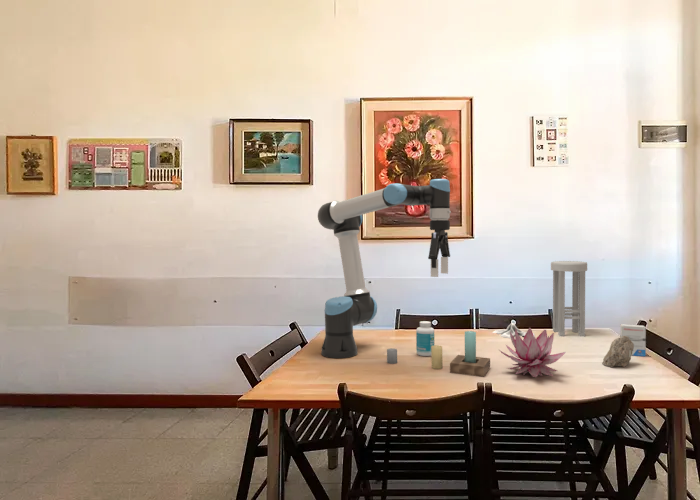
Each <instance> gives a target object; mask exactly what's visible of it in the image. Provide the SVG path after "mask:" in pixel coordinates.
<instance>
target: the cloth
mask: <svg viewBox="0 0 700 500" xmlns="http://www.w3.org/2000/svg"><path fill="white" fill-rule="evenodd" d="M515 328H516V329H517V332H518V335H519V336H520V337H521V336H522V337H523V338H524V336H525V334H526V333H527V331H523V330H520V329H519V328H518V327H517V325H516V323H513V322H511V323H510V324H508V326H507V327H506V329H505V328H503V329H496V330H494V331H492V334H493V333H497V334H496V335H499V337H500V336H501V337H500V338H507V339H511V337H510V331H511V333H512V335H513V337H514V339H515ZM532 333H533V332H532ZM533 336H534V337H535V338H536V334H535V333H533ZM522 337H521V338H522Z"/></svg>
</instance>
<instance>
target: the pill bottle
mask: <svg viewBox="0 0 700 500" xmlns="http://www.w3.org/2000/svg"><path fill="white" fill-rule="evenodd" d="M415 335H416V336H415V337H416V338H415V340H416V341H415V343H416V348H415V349H416V350H415V351H416V354H417V355H418V356H419V357H431V346H433V345H435V329H434V328H433V327H432V321H426V320H423V321H419V327H417V328H416V334H415Z"/></svg>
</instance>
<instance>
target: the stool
mask: <svg viewBox="0 0 700 500" xmlns="http://www.w3.org/2000/svg"><path fill="white" fill-rule="evenodd" d="M550 270H551V271H552V332H553V333H558V336H559V337H565V334H566V328H565V326H566V325H565V321H566V320H571V322H572V323H571V328H572V330H571V332H573V333H578V336H579V337H586V272H587V271H588V262H586V261H578V260H557V261H556V260H555V261H551V262H550ZM566 272H570V273H571V272H572V276H571V277H572V279H571V280H572V283H571V284H572V287H571V288H572V298H571V299H572V303H571V304H572V305H571V306H566V304H565V303H566V294H565V293H566V292H565V291H566V286H565V285H566V284H565V283H566Z"/></svg>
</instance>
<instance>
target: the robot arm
mask: <svg viewBox="0 0 700 500" xmlns="http://www.w3.org/2000/svg"><path fill="white" fill-rule="evenodd" d="M450 187H451V186H450V181H449V179H448V178H435V179H431V180H430V181H429V184H427V185H411V184H403V183H390V184H387V186H386V187H384V188H380V189H378V190H375V191H371V192H368V193H365V194H361V195H358V196H355V197H351V198H349V199H345V200H342V201H338V200H334V201H329V202H327V203H324V204H322V205H321V206H320V207H319V209H318V212H317V220H318V223H319V224H320V225H321V226H322V227H323V228H324V229H327V230H333V234H334V236H335V237H336V238H337V239H338V243H339V244H338V246H339V251H340V257H341V264H342V269H343V276H344V282H345V283H344V284H345V290H346V291H345V293H344V295H343V296H335V297H332V298H329V299H327V300H326V301H325V305H324V329H325V333H324V334H325V335H324V336H325V337H324V340H323V342H322V346H321V355H322V356H323V357H324V358H331V359H344V358H352V357H354V356H356V355H358V347H357V343H356V341H355V337H354V326H357V325H361V324H366V323H368V322H371V321H372V320H374V318H375V317H376V315H377V312H378V304H377V301H376V299H374V297H373V296H371V292H370V290H368V289H367V288H366V283H365V276H364V271H363V264H362V258H361V252H360V245H359V239H358V234H359V233H360V227H361V225H362V223H363V217H364V216H363V215H366V214H370V213H373V212H376V211H380V210H381V211H382V210H385V209H387V208H391V207H395V206H399V205H404V206H428V205H429V219H430V221H429V230H430V231H434V232H431V238H430V245H429V251H428V256H427V258H428V260H430V278H433V277H434V278H439V253H440V254H441V256H440V274H445V275H446V274H447V275H448V274H449V258H451V253H450V252H451V251H450V245H449V237H448V236H449V235H448V233H449V232H447V231H449V230H450V228H451V225H450V224H451V223H450V222H451V221H450V220H449V219H450V216H451V215H450V214H451V213H452V211H451V210H450V209H451V208H450V207H451V205H450V204H451V203H450V200H451V198H450V197H451V188H450Z"/></svg>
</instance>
